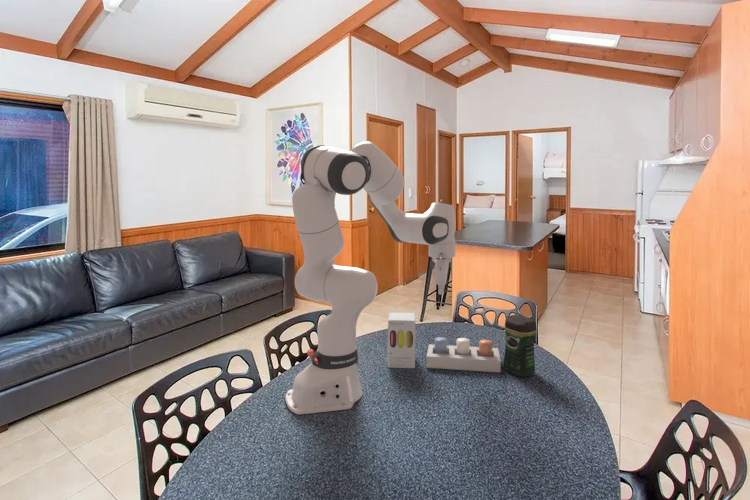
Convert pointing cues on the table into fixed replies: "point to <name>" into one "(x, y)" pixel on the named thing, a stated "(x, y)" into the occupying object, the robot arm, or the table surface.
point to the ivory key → (463, 345)
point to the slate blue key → (440, 345)
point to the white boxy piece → (463, 359)
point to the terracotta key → (485, 347)
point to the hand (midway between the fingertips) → (441, 291)
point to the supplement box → (401, 340)
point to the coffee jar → (519, 346)
